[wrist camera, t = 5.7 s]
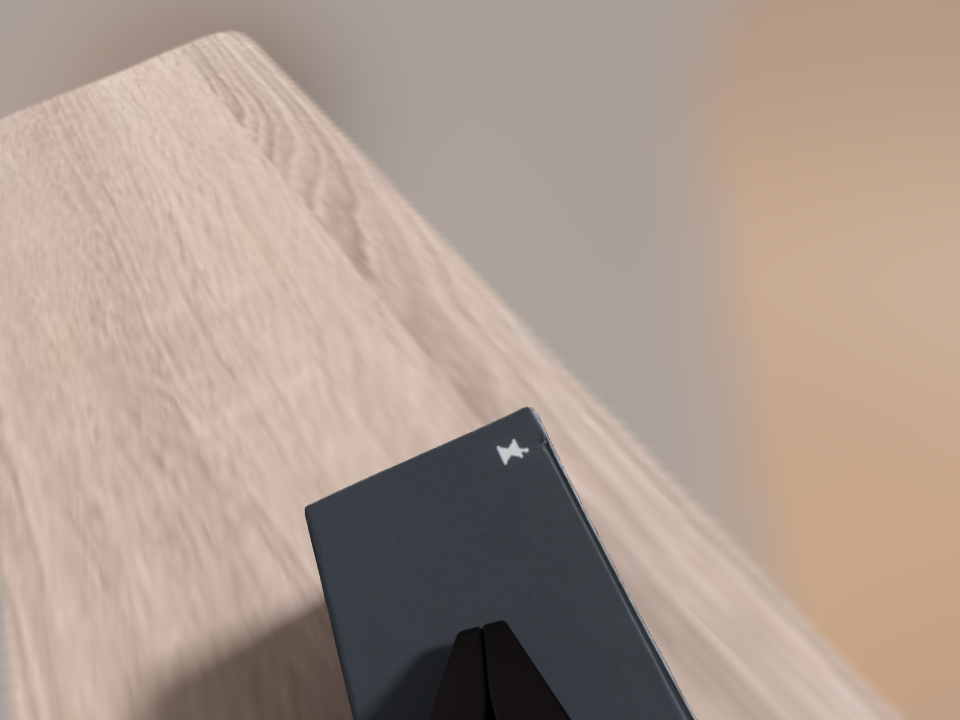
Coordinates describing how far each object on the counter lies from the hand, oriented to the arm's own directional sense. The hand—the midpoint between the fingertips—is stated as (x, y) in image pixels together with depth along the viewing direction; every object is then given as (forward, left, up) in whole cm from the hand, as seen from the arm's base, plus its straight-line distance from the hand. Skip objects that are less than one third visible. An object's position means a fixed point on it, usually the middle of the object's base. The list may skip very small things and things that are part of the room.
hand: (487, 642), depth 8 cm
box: (0, 0, -11) cm, 11 cm away
